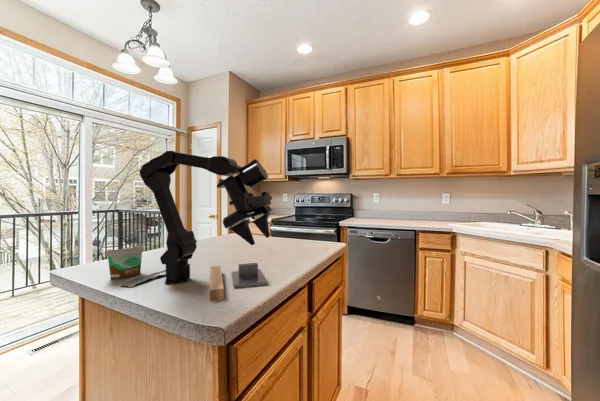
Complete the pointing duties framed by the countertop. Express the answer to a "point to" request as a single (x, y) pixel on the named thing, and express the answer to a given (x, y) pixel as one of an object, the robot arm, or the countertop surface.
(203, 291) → the countertop surface
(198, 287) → the countertop surface
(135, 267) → the food container
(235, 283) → the ridge stand
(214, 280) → the oak rod
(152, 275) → the driftwood
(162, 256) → the robot arm
